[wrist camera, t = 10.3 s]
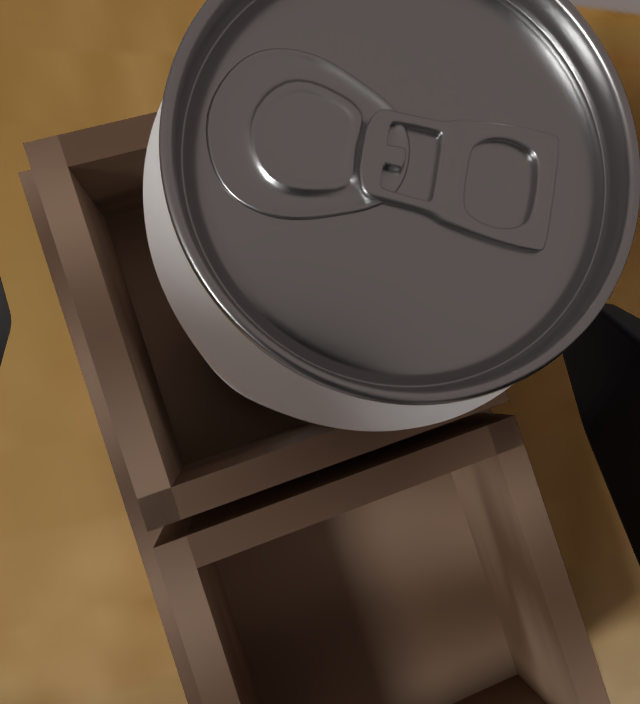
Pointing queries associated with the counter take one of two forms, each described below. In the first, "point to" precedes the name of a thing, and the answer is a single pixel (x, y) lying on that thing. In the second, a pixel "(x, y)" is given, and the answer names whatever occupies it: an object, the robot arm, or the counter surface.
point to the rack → (299, 497)
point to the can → (388, 199)
